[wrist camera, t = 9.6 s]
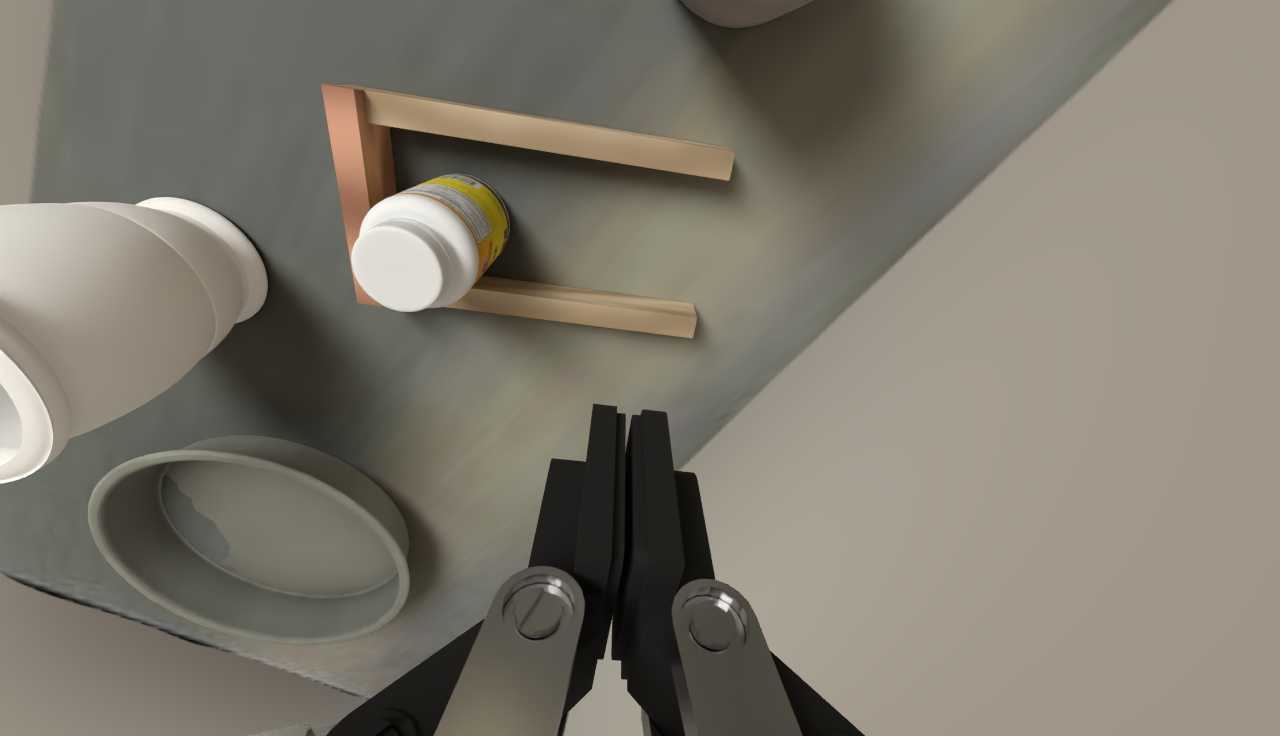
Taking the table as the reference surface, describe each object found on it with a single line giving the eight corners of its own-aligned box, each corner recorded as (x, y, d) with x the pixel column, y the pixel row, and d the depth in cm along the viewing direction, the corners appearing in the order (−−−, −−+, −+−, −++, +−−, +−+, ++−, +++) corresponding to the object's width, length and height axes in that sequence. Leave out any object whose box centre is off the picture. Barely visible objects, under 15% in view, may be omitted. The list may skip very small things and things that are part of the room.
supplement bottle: (462, 276, 31) (394, 347, 22) (404, 200, 29) (300, 247, 20) (530, 236, 30) (486, 295, 21) (475, 153, 27) (398, 180, 18)
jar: (169, 140, 27) (-267, 179, 14) (321, 282, 31) (102, 413, 18) (74, 243, 29) (-362, 356, 16) (227, 360, 34) (-22, 522, 21)
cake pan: (205, 359, 34) (151, 393, 30) (479, 522, 43) (465, 564, 39) (96, 524, 42) (42, 567, 38) (346, 631, 52) (323, 675, 48)
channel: (357, 85, 25) (321, 84, 22) (727, 147, 27) (739, 153, 24) (383, 283, 31) (357, 303, 28) (688, 322, 33) (694, 345, 30)
